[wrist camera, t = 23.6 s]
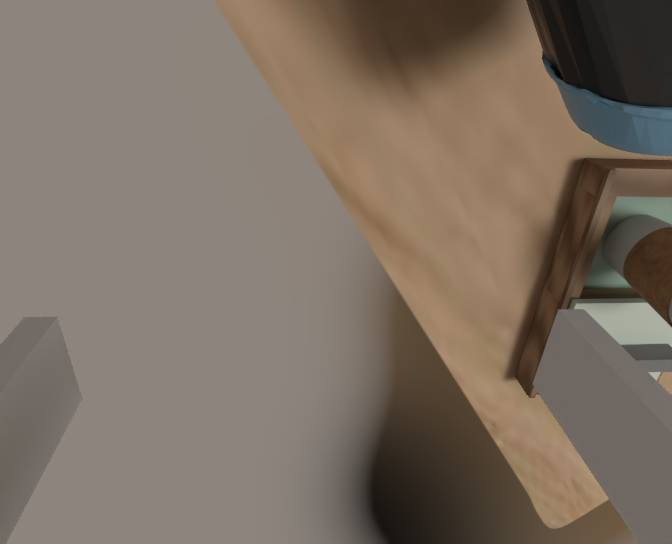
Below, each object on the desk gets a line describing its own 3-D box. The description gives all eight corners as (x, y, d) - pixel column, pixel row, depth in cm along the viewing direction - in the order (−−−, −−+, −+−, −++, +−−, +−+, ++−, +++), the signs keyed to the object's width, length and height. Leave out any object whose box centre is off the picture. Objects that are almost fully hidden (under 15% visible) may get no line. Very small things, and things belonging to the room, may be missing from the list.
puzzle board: (585, 158, 41) (609, 169, 38) (734, 162, 43) (768, 173, 40) (515, 376, 54) (528, 398, 51) (632, 372, 55) (652, 393, 52)
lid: (571, 299, 45) (591, 318, 42) (691, 297, 46) (718, 316, 43) (538, 389, 50) (554, 412, 48) (646, 386, 52) (667, 407, 49)
